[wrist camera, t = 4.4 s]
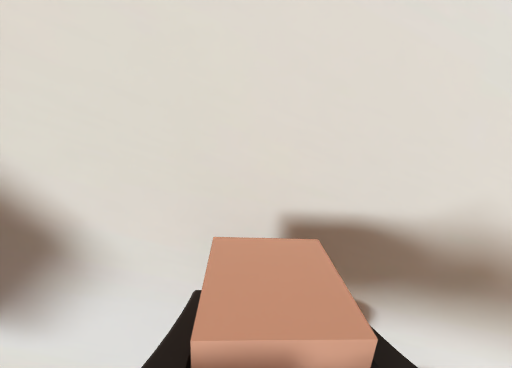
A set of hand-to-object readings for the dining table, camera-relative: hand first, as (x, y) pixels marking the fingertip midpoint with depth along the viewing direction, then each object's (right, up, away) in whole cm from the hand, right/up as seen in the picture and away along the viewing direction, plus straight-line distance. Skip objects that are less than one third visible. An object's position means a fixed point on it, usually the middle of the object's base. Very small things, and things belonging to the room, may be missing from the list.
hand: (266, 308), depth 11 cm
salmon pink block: (0, +1, +2) cm, 2 cm away
